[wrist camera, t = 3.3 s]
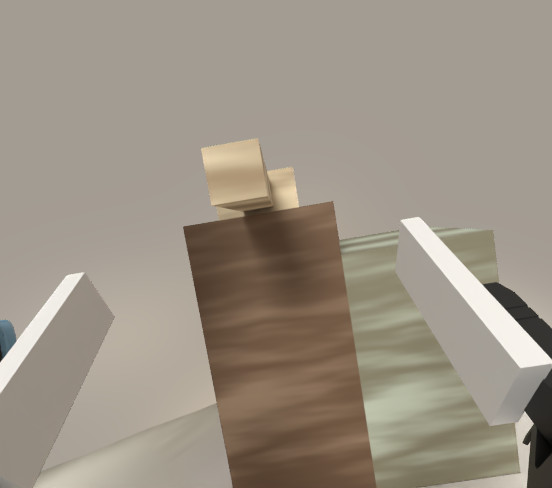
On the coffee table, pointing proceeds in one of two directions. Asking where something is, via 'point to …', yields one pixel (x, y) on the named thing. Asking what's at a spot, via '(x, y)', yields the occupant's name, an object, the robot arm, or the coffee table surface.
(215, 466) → the coffee table surface
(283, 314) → the stand
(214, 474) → the coffee table surface
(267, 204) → the light wooden block
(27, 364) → the robot arm
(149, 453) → the coffee table surface
